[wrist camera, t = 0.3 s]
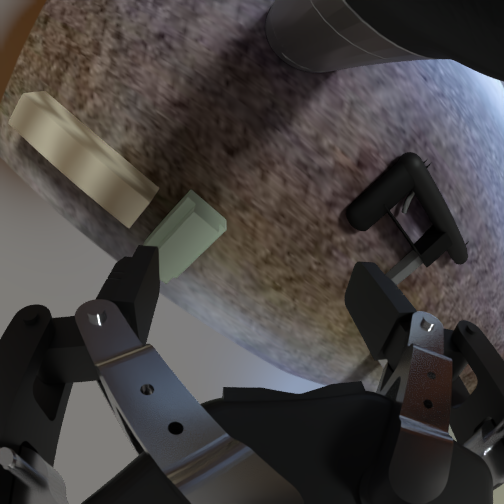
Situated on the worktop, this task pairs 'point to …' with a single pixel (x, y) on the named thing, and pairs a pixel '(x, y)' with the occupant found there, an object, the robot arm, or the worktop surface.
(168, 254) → the ridge
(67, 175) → the bar
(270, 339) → the worktop surface
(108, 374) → the robot arm
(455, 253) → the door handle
